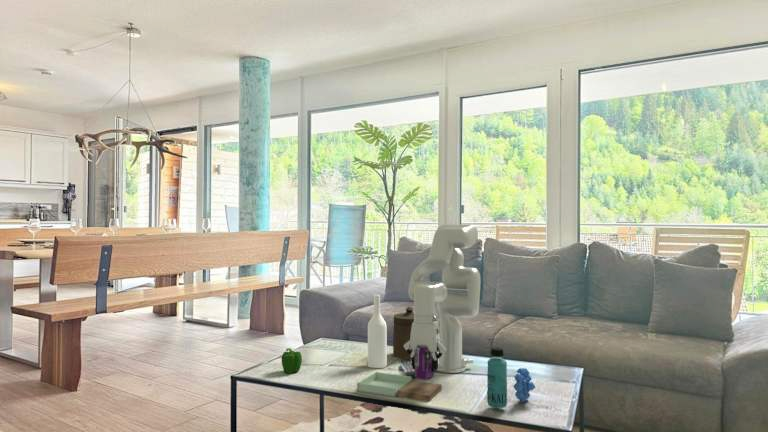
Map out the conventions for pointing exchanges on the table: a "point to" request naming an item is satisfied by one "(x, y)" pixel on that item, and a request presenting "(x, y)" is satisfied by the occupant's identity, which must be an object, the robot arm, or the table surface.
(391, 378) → the tray
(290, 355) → the bell pepper
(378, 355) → the bottle
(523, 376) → the grapes
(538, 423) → the table surface
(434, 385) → the board
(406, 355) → the wooden container
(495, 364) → the beverage bottle
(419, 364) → the beverage can
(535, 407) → the table surface
